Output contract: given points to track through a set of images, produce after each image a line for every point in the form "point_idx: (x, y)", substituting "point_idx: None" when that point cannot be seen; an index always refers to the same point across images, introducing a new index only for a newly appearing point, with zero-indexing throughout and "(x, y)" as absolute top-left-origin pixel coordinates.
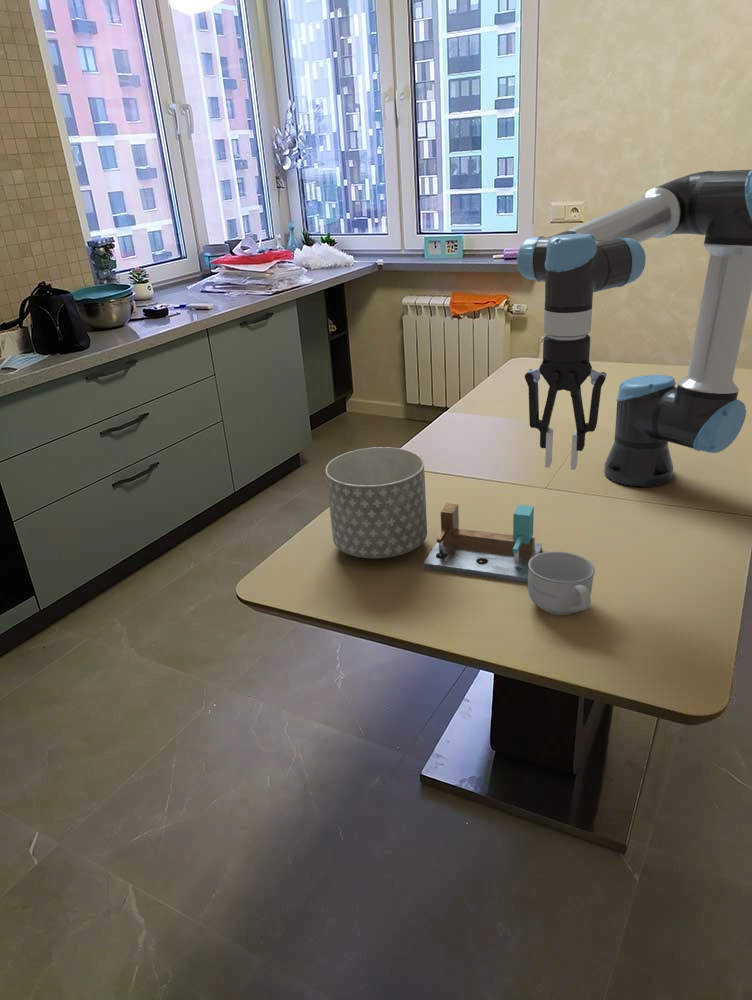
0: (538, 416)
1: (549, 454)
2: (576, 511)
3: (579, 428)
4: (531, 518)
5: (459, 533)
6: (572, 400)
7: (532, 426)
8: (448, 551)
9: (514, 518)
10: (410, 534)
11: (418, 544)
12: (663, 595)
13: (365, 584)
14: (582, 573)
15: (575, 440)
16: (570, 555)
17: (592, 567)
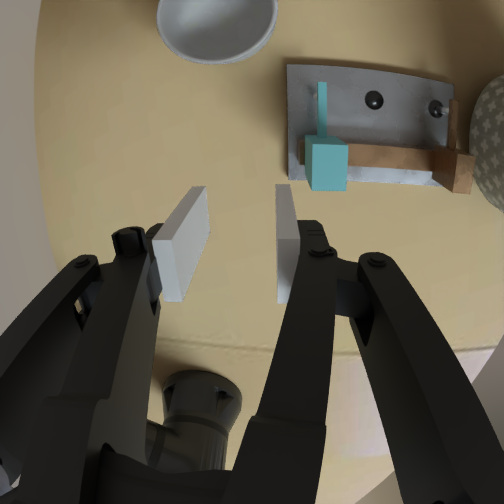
0: (357, 328)
1: (277, 199)
2: (256, 303)
3: (131, 261)
4: (310, 162)
5: (427, 154)
6: (112, 381)
7: (377, 255)
8: (429, 124)
9: (343, 143)
10: (495, 100)
11: (474, 111)
12: (97, 106)
13: (496, 42)
14: (188, 52)
15: (164, 229)
16: (208, 59)
17: (161, 31)
